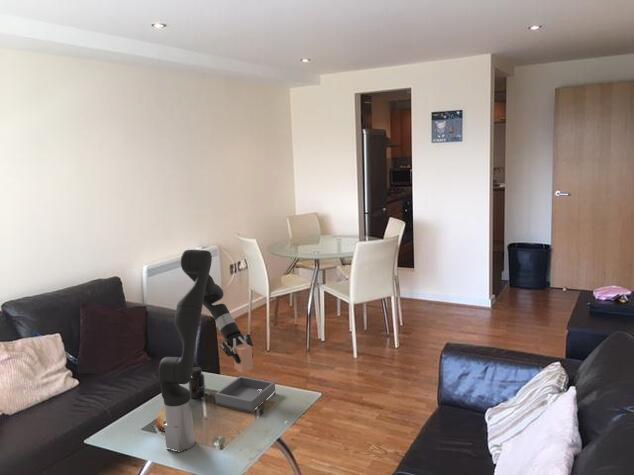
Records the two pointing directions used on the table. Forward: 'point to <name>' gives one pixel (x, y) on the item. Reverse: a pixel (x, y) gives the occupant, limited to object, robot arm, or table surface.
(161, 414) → the slice of bread
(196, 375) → the supplement bottle
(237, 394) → the charcoal bin
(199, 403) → the table surface
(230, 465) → the table surface
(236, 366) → the salmon pink block
